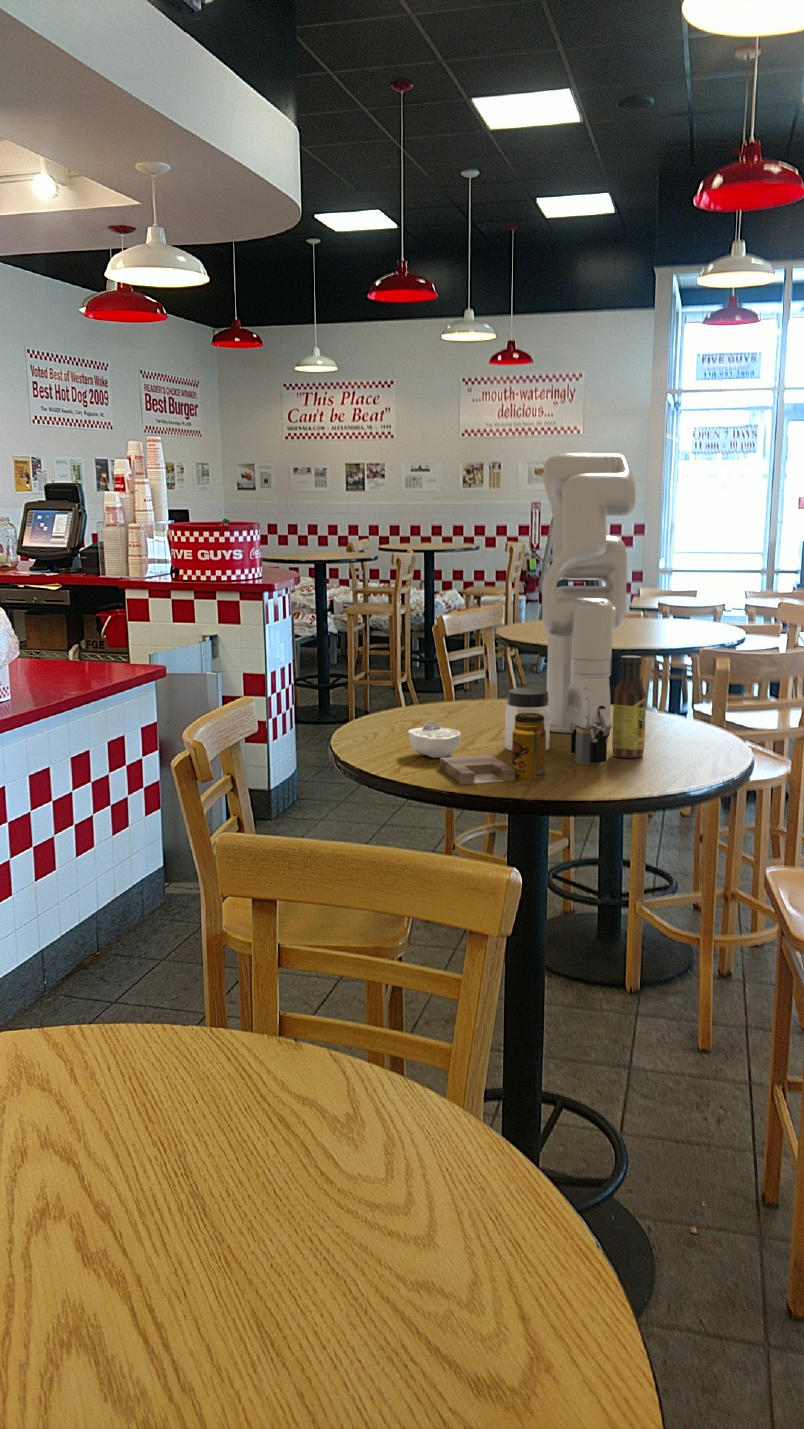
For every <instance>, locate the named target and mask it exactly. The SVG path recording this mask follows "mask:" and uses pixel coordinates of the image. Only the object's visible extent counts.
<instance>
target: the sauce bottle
mask: <svg viewBox="0 0 804 1429" xmlns="http://www.w3.org/2000/svg"><path fill="white" fill-rule="evenodd" d="M642 662H643V660H642V656H641V655H640V656H639V655H621V656H620V666H621V667H620V669H621V670H620V680H619V681H618V683H617V685H616V686H615V689H614V698H613V699H614V701H613V710H612V711H613V715H612V743H611V744H612V746H611V747H612V754H613V756H615V757H616V758H621V759H624V758H626V759H635V758H636V759H637V758H641V757H643V755H644V749H645V740H646V739H645V737H646V736H645V735H646V734H645V733H646V711H647V710H646V707H647V695H646V692H645V689H644V686H643V682H642V679H641V666H642V664H643V663H642Z"/></svg>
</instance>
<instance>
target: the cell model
mask: <svg viewBox="0 0 804 1429" xmlns="http://www.w3.org/2000/svg"><path fill="white" fill-rule="evenodd" d="M407 733H408V735H409V743H410V747H411V748H412V750H414V751H415V752H416V753H418V754H421V755H424V756H428V757H430V758H433V759H436V758H437V759H440V758H445V757H450V756H451V755H453V753H454V752H455V750H456V749H457V748H458V747H459V746H460V745H461V731H460V730H457V729H453V728H450V727H444V726H440V724H439V723H437V721H434V720H430V721H427V722H426V723H424V725H423V726H421V727H416V728H411V729H408V731H407Z"/></svg>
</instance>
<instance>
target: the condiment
mask: <svg viewBox="0 0 804 1429" xmlns="http://www.w3.org/2000/svg"><path fill="white" fill-rule="evenodd" d="M544 726H545V725H544V716H543V715H541V714H538V713H520V714H517V715H516V716H515V728H514V730H513V737H512V751H511V752H512V753H511V768H513V769H514V770H515V780H518V781H524V782H525V781H526V782H533V781H535V782H536V781H541V780H543V779H545V776H546V754H547V752H546V751H547V750H546V731H545V729H544Z"/></svg>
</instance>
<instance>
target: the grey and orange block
mask: <svg viewBox="0 0 804 1429" xmlns="http://www.w3.org/2000/svg"><path fill="white" fill-rule="evenodd" d="M598 732H599V730H596V734H598ZM590 742H593V741H592V736H591V732H590V728H589V729H584V728H581V727H576V752H575V754H574V755H575V757H574V758H575V759H574V760H575V763H578V764H579V765H581V766H582V765H583V766H584V765H599V764H601V763H591V762H590Z"/></svg>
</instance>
